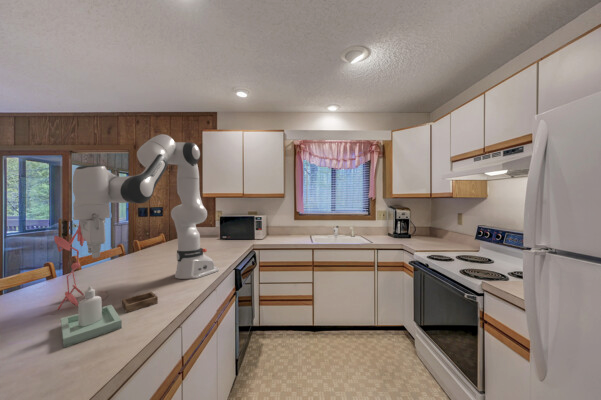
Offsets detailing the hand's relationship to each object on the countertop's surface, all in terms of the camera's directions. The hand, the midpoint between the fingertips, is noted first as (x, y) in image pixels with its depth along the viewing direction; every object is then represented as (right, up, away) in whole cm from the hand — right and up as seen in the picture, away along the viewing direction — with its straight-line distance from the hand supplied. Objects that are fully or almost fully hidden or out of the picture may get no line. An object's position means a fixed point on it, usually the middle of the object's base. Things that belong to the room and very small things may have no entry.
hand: (93, 255), depth 76 cm
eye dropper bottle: (-1, -23, 0) cm, 23 cm away
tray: (0, -23, -1) cm, 23 cm away
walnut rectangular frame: (+5, -23, +14) cm, 28 cm away
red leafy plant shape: (-21, -24, +19) cm, 36 cm away
